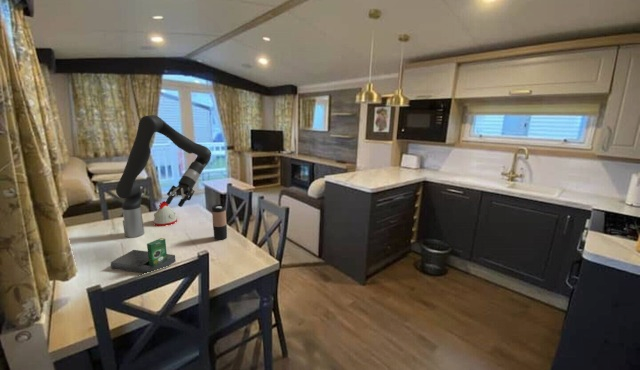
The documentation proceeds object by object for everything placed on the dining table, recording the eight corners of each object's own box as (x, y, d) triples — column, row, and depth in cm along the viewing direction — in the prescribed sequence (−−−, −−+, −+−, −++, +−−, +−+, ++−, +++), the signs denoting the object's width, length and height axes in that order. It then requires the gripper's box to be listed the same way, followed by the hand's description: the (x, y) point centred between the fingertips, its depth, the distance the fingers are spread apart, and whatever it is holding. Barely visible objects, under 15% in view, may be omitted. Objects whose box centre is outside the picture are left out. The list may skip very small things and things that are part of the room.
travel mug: (215, 235, 171) (213, 204, 166) (228, 235, 171) (226, 204, 167) (212, 240, 163) (209, 208, 159) (225, 240, 164) (223, 208, 159)
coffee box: (164, 261, 139) (161, 237, 136) (168, 262, 138) (165, 238, 135) (149, 269, 132) (145, 243, 129) (153, 270, 131) (150, 244, 128)
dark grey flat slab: (111, 268, 131) (110, 262, 131) (134, 255, 144) (133, 249, 143) (155, 275, 127) (155, 268, 126) (175, 261, 139) (174, 254, 139)
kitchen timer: (149, 225, 184) (146, 203, 180) (163, 218, 197) (161, 197, 194) (168, 226, 182) (166, 205, 178) (181, 219, 195) (179, 199, 192)
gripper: (175, 173, 151) (158, 199, 143) (195, 176, 146) (178, 203, 138) (183, 181, 157) (168, 206, 149) (203, 184, 152) (188, 210, 144)
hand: (173, 204), depth 143 cm, fingers open, 8 cm apart
